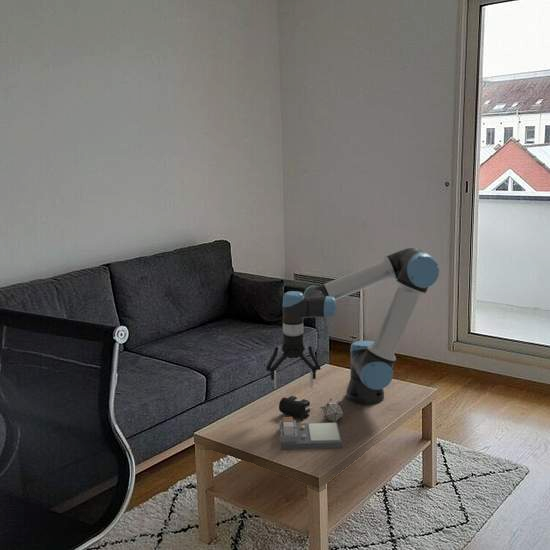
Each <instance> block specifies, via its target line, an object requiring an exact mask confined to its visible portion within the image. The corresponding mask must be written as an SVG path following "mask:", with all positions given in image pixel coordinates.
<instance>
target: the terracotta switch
mask: <svg viewBox="0 0 550 550" xmlns="http://www.w3.org/2000/svg"><path fill="white" fill-rule="evenodd" d="M282 420H283V422H293V420H294V417H292V416H283V417H282Z"/></svg>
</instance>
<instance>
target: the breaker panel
mask: <svg viewBox="0 0 550 550" xmlns="http://www.w3.org/2000/svg"><path fill="white" fill-rule="evenodd" d="M293 424H294V435H289V436H284V432H283V419H282V420H279V444H280V445H279V447H280V450H305V449H306V450H307V449H308V450H309V449H315V450H316V449H341V448H343V440H342V437H341V436H342V435H341V433H340V428H339V424H338V422H337V421H336V422H333V421H331V422H330V421H329V422H301V423H297V420H296V419H293Z"/></svg>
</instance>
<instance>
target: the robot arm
mask: <svg viewBox="0 0 550 550" xmlns="http://www.w3.org/2000/svg"><path fill="white" fill-rule="evenodd" d="M439 275H440V267H439V265H438V262H437V260H436V259H435V258H434V257H433V256H432V255H430V254H429V253H426V252H424V251H423V250H422V249H419V248H416V247H407V248H404V249H401V250H398V251H396V252H394V253H391V254H389V255H386V256H384V259H383V260H380V261H378V262H376V263H373V264H371V265H368V266H365V267H363V268H360V269H358V270H356V271H353V272H351V273H348V274H346V275H344V276H341V277H339V278H336V279H334V280H330V281H328V282H326V283H323V284H322V285H318V286H316V285H311V286H308V287H306V288H305V290H304V291H303V292H302V291H297V290H296V291H295V290H291V291H287V292H285V293H283V296H282V304H281V305H282V333H283V334H282V346H281V345H278V344H275V345H274V350H273V353H272V354H271V356H270V358H269V361H267V364H266V367H265V370H266V371H267V372H270V378H271V381H273V387H274V388H273V389H274V390H277V369H278V367H280V365H281V364H282V363H283V362H284V361H285V360H287V358H289V359H298V358H300V359H301V360H302V361H303V362H304V363H305V365H306V366H308V367H309V377H310V378H309V385H310V386H309V387H310V389H313V387H314V384H313V383H314V382H313V381H314V380H316V378H317V375H316V374H317V371H321V370H322V369H321V365H320V363H319V361H318V359H317V357H316V355H315V354H314V351H313V348H312V347H313V346H312V344H308V345H304V319H306V318H307V319H308V318H332V317H335V315H336V312H337V300H339V299H343V298H344V297H348V296H351V295H352V294H354V293H357V292H360V291H362V290H366V289H367V288H370V287H373V286H375V285H377V284H381V283H383V282H386V281H387V280H390V279H392V280H394V281H395V280H396V281H395V282H396V283H397V286H398V287H397V289H396V291H395V293H394V295H393V298H392V300H391V302H390V305H389V306H388V309H387V312H386V314H385V315H384V318H383V321H382V323H381V325H380V328H379V329H378V332H377V335H376V336H375V339H374V340H358V341H354V342H352V343H351V344H350V350H349V351H350V379H349V381H348V384H347V387H346V392H345V396H346V399H347V400H348V401H350V402H351V403H355V404H358V405H359V404H360V405H372V404H373V405H374V404H377V403H380V402H382V401H383V400H384V399H385V391H384V388H387V387H388V386H389V385H390V384H391V383H392V381H393V378H394V372H393V367H394V365H395V363H396V361H397V357H396V355H395V352H396V350H397V349H398V346H399V343H400V342H401V339H402V338H403V334H404V332H405V330H406V328H407V326H408V323H409V322H410V319H411V317H412V315H413V312H414V310H415V307H416V306H417V304H418V302H419V301H418V300H419V299H420V297H421V296H422V295H423V296H424V294H425V295H426V294H427V291H428V289H429V287H431V286H432V285H434V284H435V283H436V282H437V280H438V278H439ZM280 351H282V352H283V353H282V354H281V356H280V357H279V358H278V359H277V360H276V358H277V355H278V353H280ZM304 351H306V352H307V353H308V354H309V356H310V358H311V360H312V361H313V363H314V364H313V363H312V362H311V360H310V359H308V357H307V356H306V355H305V354H304ZM275 360H276V362H274V361H275ZM273 363H274V364H273Z"/></svg>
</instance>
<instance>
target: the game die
mask: <svg viewBox="0 0 550 550" xmlns="http://www.w3.org/2000/svg"><path fill="white" fill-rule="evenodd" d="M341 403H342V402H339V403H338V402H337V401H334V400H333V399H332V398H329V401H328V402H327V403H326V404H325V405H323V406H320V409H322V411H323V414H324V416H323V418H325V419H324V420H325V421H326V420H329V421H331V422H337V421H338V420H339V419H340V418H341V417H342V416H346V413H344V411H343V409H342V406H343V405H342V404H341Z"/></svg>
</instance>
